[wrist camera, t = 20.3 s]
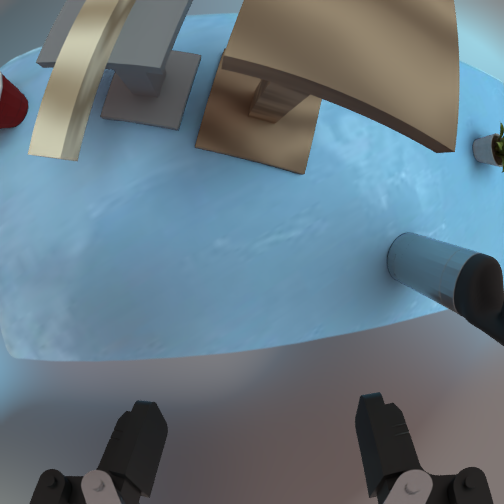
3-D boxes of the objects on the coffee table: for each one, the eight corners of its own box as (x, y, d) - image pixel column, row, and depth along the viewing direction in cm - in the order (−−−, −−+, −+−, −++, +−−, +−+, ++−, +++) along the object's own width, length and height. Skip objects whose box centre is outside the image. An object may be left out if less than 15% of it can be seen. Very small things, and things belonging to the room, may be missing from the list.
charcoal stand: (127, 49, 35) (85, -30, 14) (201, 58, 37) (203, -29, 16) (103, 118, 37) (31, 72, 16) (178, 130, 39) (156, 79, 18)
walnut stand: (223, 52, 37) (264, -113, 6) (322, 81, 40) (466, -16, 10) (195, 147, 40) (174, 46, 9) (301, 174, 43) (475, 166, 12)
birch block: (145, -61, 14) (142, -78, 11) (174, -60, 15) (173, -79, 12) (46, 157, 18) (27, 154, 15) (77, 161, 19) (60, 158, 16)
